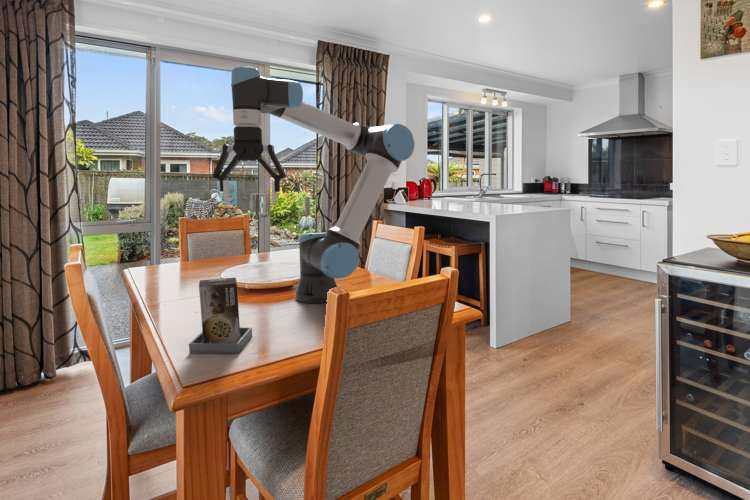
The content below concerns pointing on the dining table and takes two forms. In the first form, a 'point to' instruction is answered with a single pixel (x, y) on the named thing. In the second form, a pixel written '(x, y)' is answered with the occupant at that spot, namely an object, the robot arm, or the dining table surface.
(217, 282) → the coffee box
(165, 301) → the dining table surface
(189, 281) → the dining table surface
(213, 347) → the tray
